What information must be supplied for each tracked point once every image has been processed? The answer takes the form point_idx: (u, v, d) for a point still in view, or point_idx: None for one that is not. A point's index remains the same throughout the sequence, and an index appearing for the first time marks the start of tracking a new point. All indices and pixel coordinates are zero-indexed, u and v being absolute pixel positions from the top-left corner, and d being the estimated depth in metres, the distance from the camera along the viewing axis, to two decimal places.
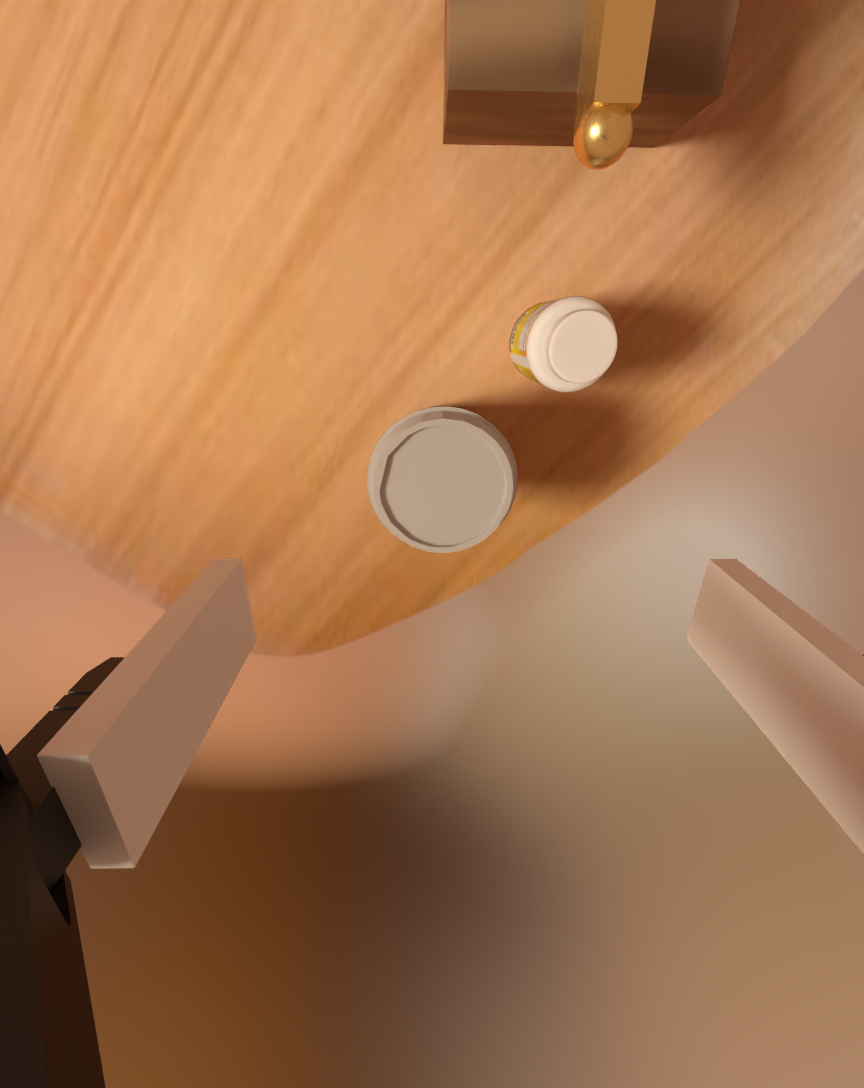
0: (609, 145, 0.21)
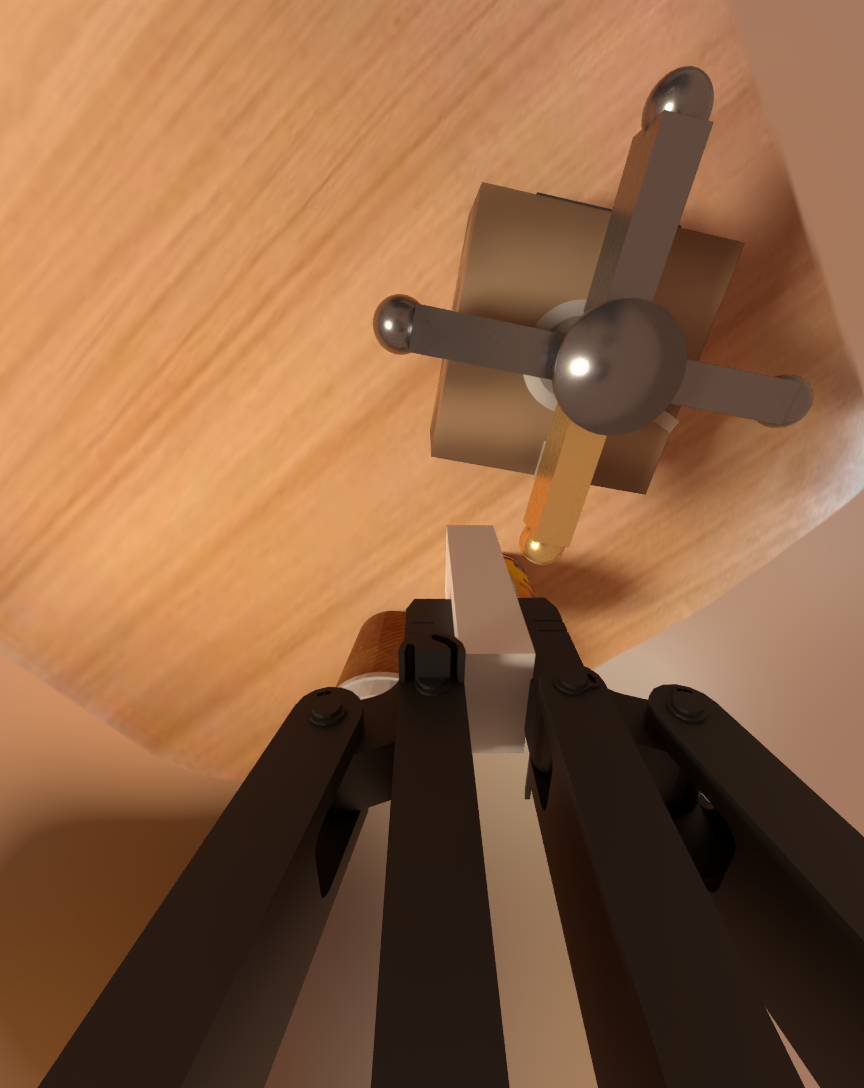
0: (543, 562, 0.27)
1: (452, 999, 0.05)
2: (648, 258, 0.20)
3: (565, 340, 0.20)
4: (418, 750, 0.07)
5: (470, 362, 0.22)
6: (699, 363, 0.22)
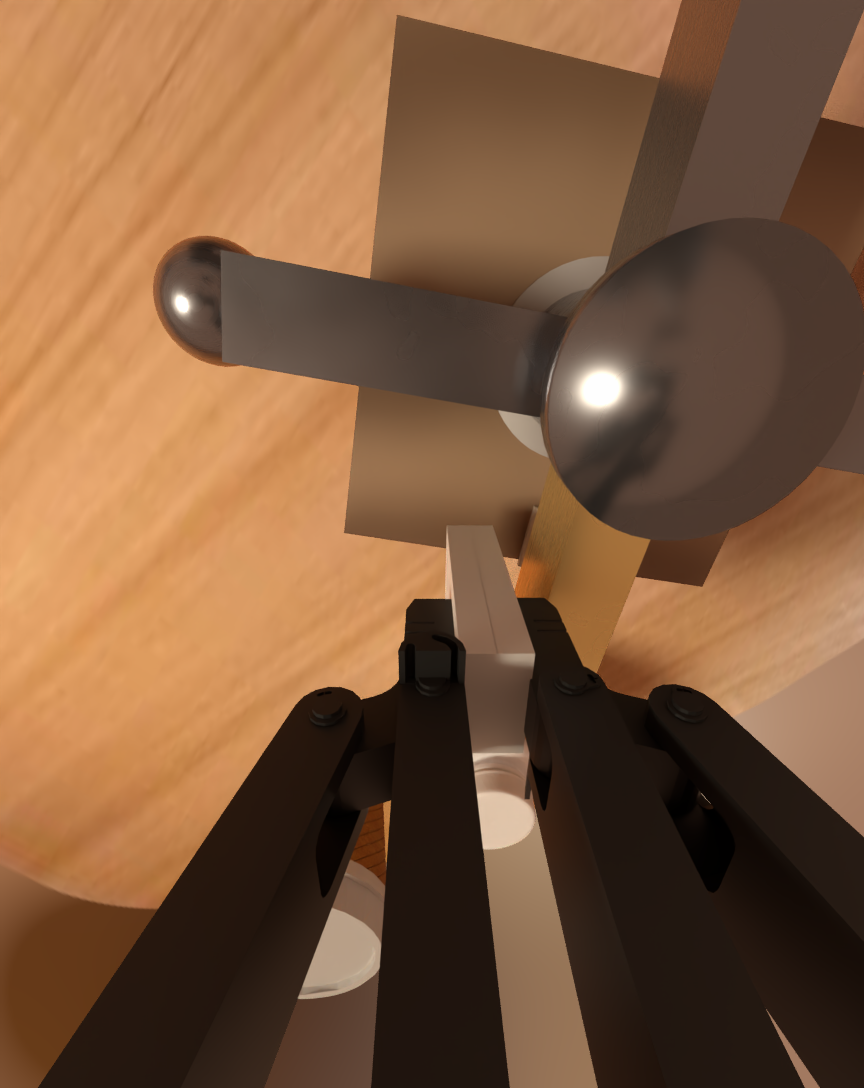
0: None
1: (452, 999, 0.05)
2: (771, 127, 0.08)
3: (570, 330, 0.08)
4: (418, 750, 0.07)
5: (361, 383, 0.10)
6: (863, 378, 0.10)
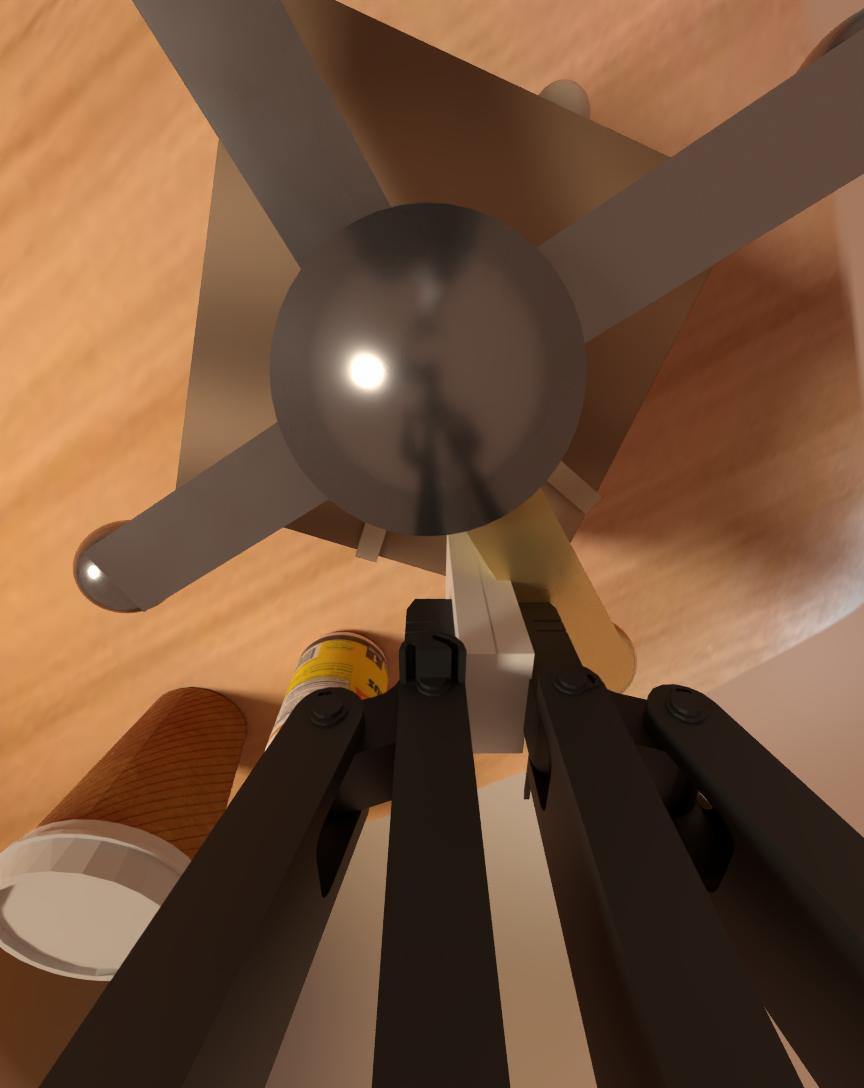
0: None
1: (453, 999, 0.05)
2: (305, 144, 0.08)
3: (284, 435, 0.09)
4: (419, 750, 0.07)
5: (226, 558, 0.12)
6: (593, 214, 0.09)
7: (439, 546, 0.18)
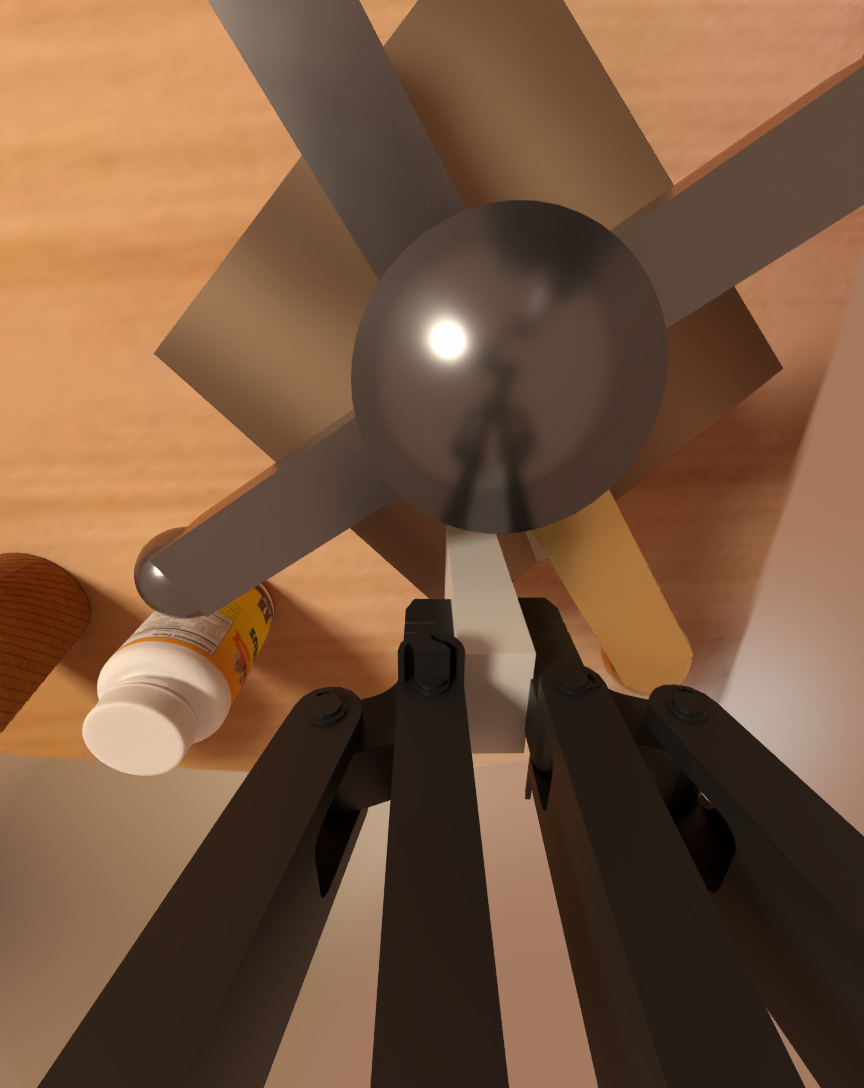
0: None
1: (452, 999, 0.05)
2: (380, 146, 0.08)
3: (362, 436, 0.09)
4: (417, 750, 0.07)
5: (290, 562, 0.12)
6: (667, 206, 0.09)
7: (396, 532, 0.17)
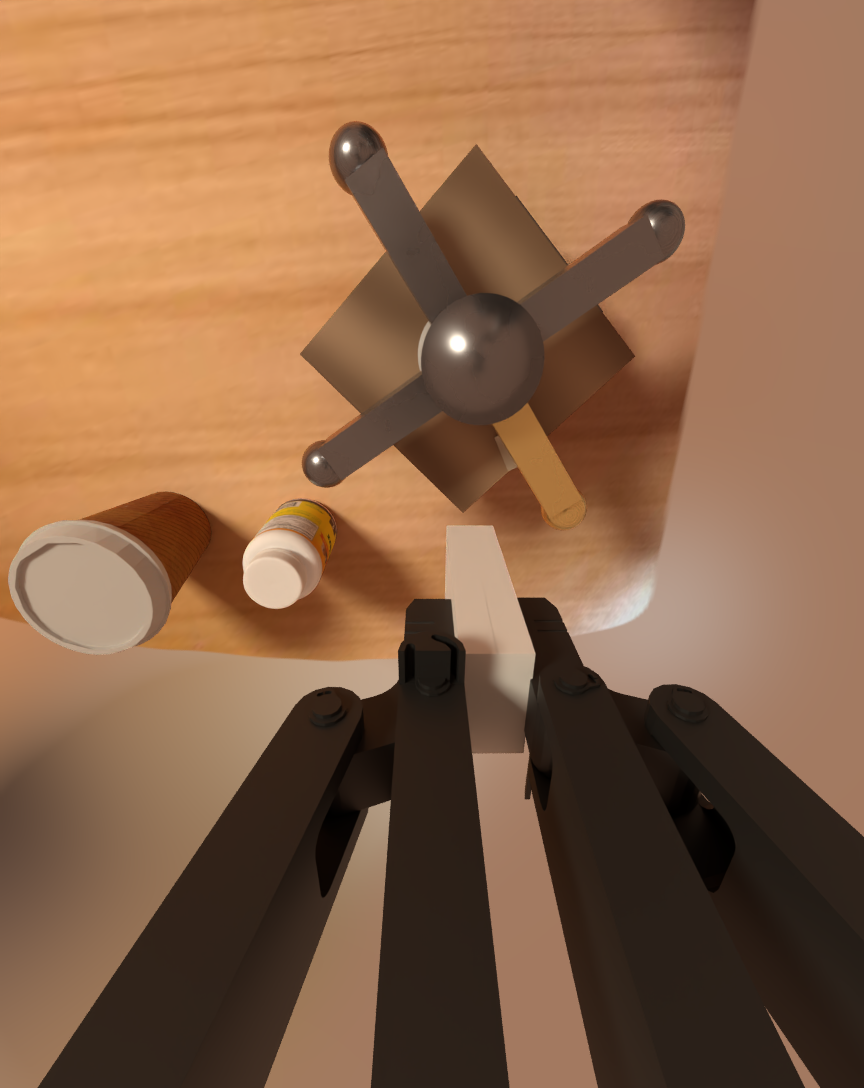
0: (575, 523, 0.27)
1: (452, 999, 0.05)
2: (431, 269, 0.21)
3: (424, 383, 0.22)
4: (418, 750, 0.07)
5: (384, 449, 0.25)
6: (544, 288, 0.22)
7: (426, 454, 0.30)
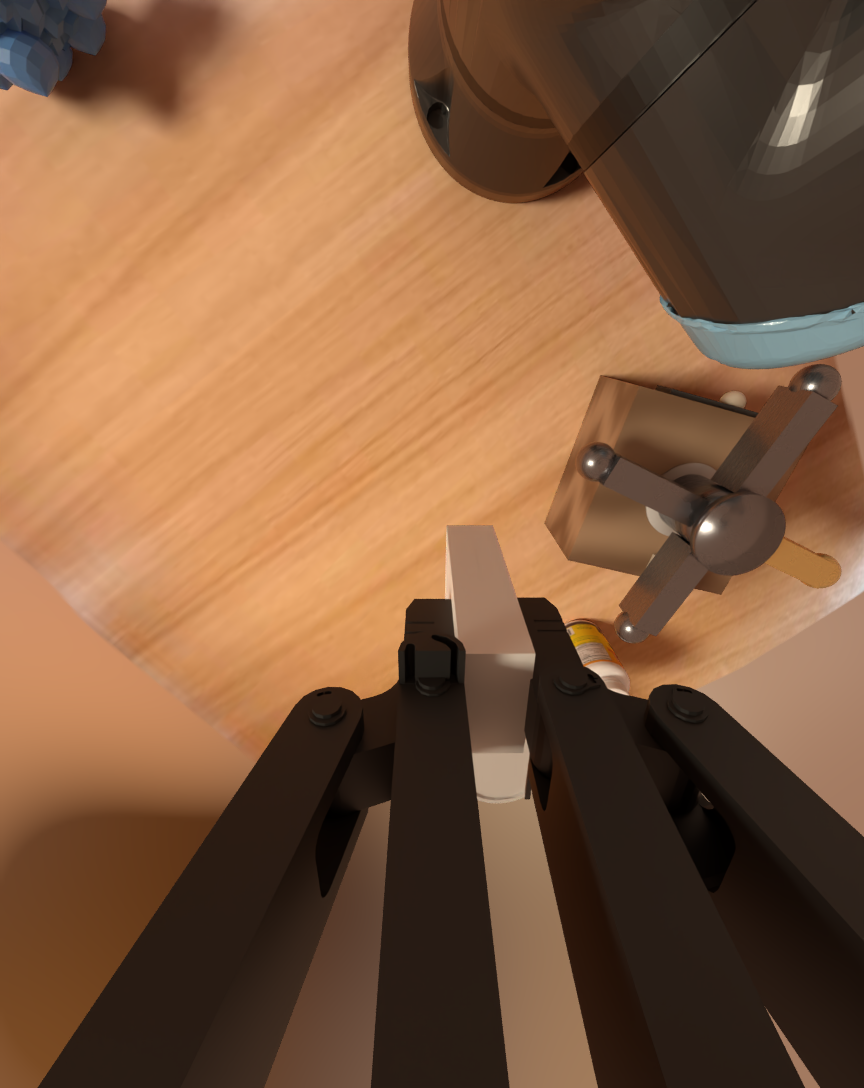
0: (837, 580, 0.34)
1: (452, 999, 0.05)
2: (674, 498, 0.31)
3: (703, 566, 0.31)
4: (418, 750, 0.07)
5: (679, 606, 0.34)
6: (756, 467, 0.30)
7: None
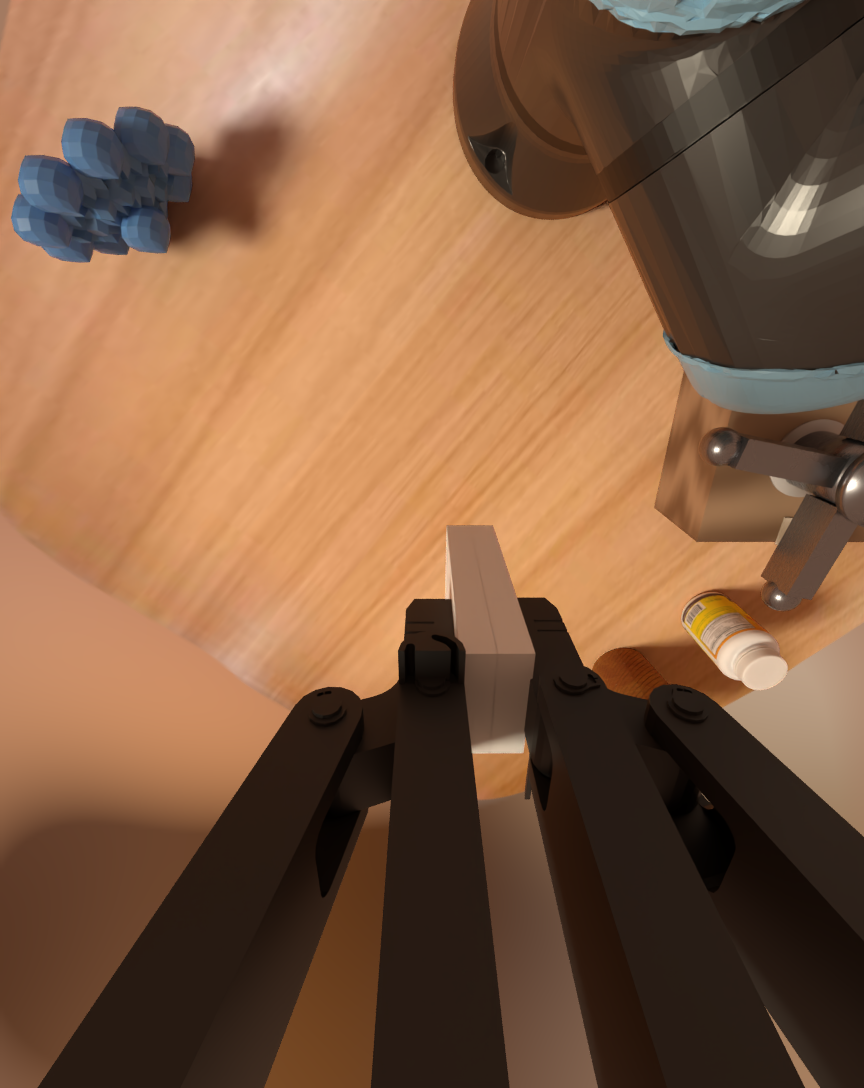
0: None
1: (452, 999, 0.05)
2: (810, 464, 0.31)
3: (855, 524, 0.31)
4: (418, 750, 0.07)
5: (831, 566, 0.34)
6: None
7: None
